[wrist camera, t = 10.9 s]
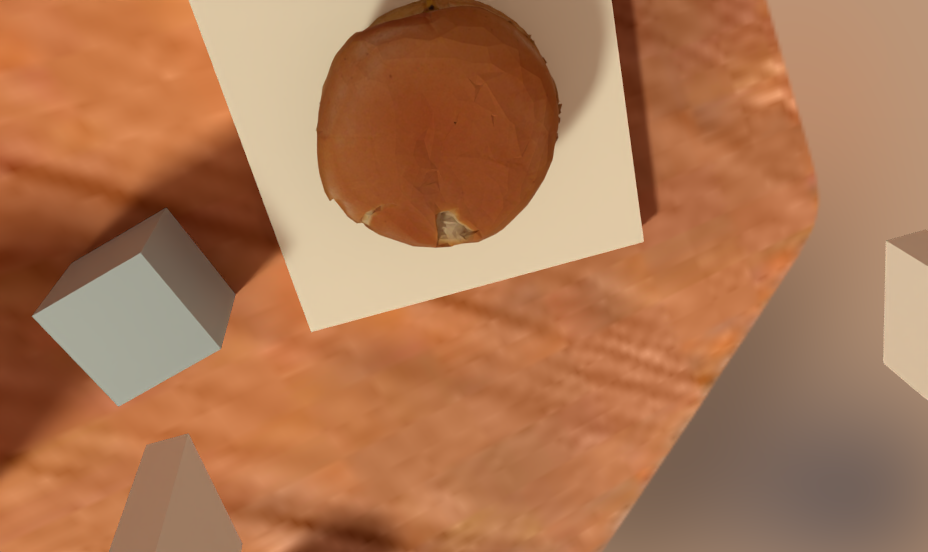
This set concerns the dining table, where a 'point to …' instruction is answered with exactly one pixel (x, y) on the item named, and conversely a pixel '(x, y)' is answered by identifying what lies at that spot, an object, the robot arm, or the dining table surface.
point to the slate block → (139, 308)
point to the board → (383, 259)
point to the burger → (437, 123)
